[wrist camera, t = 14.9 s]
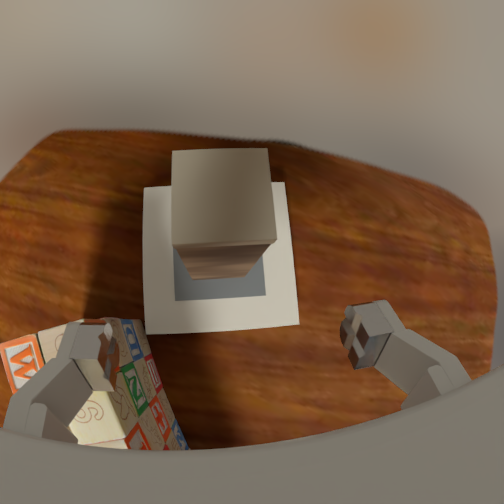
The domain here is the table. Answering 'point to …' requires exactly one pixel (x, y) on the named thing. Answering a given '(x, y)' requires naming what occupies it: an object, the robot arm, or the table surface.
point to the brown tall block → (221, 210)
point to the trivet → (214, 290)
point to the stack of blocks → (107, 402)
